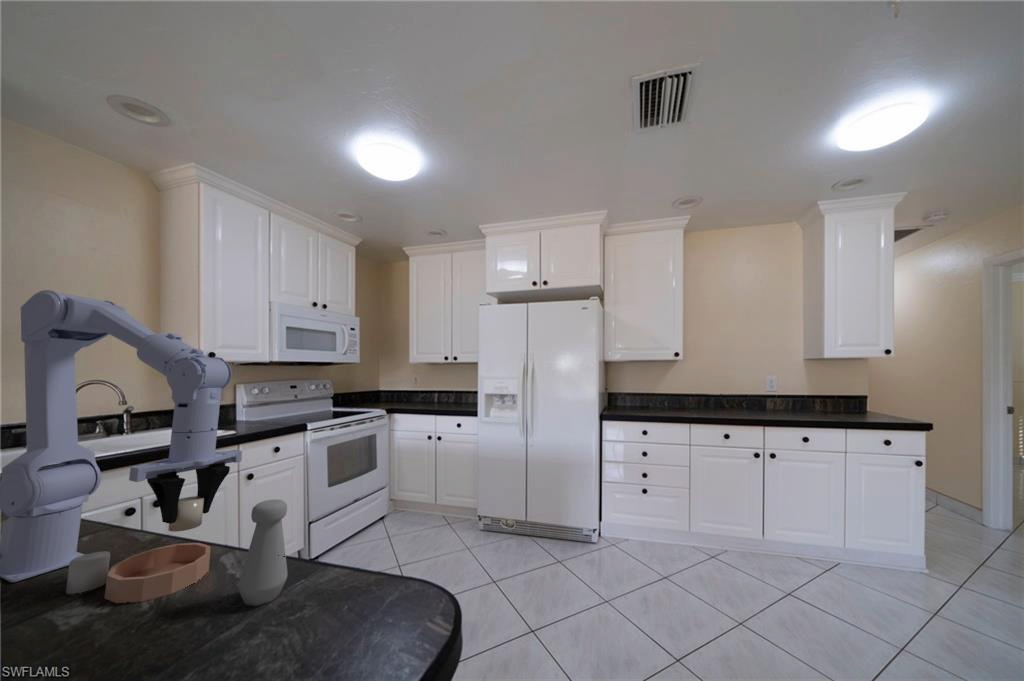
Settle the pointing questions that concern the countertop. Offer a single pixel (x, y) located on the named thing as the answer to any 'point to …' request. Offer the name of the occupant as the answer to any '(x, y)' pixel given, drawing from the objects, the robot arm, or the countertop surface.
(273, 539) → the salt shaker
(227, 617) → the countertop surface
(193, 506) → the pebble
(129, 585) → the bowl
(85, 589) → the pebble
